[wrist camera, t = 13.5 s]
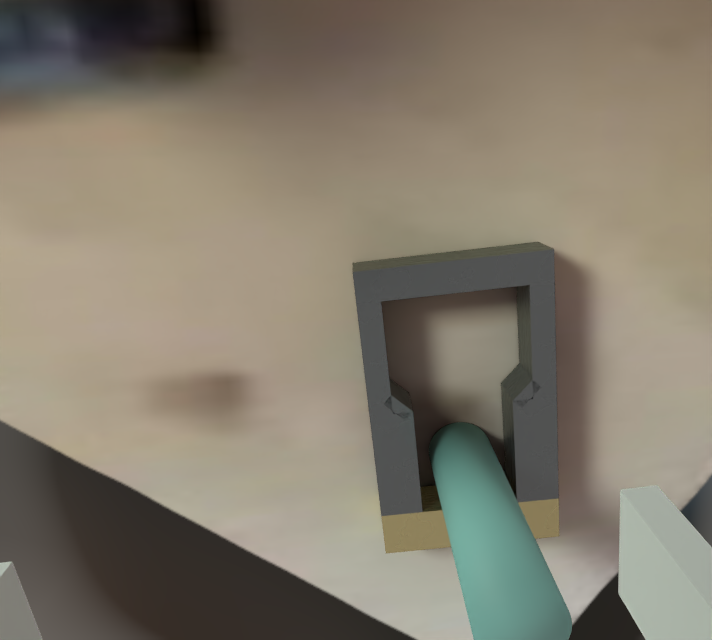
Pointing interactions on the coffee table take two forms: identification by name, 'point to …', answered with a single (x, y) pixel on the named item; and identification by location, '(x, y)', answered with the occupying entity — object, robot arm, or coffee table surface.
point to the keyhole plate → (519, 389)
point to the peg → (493, 543)
